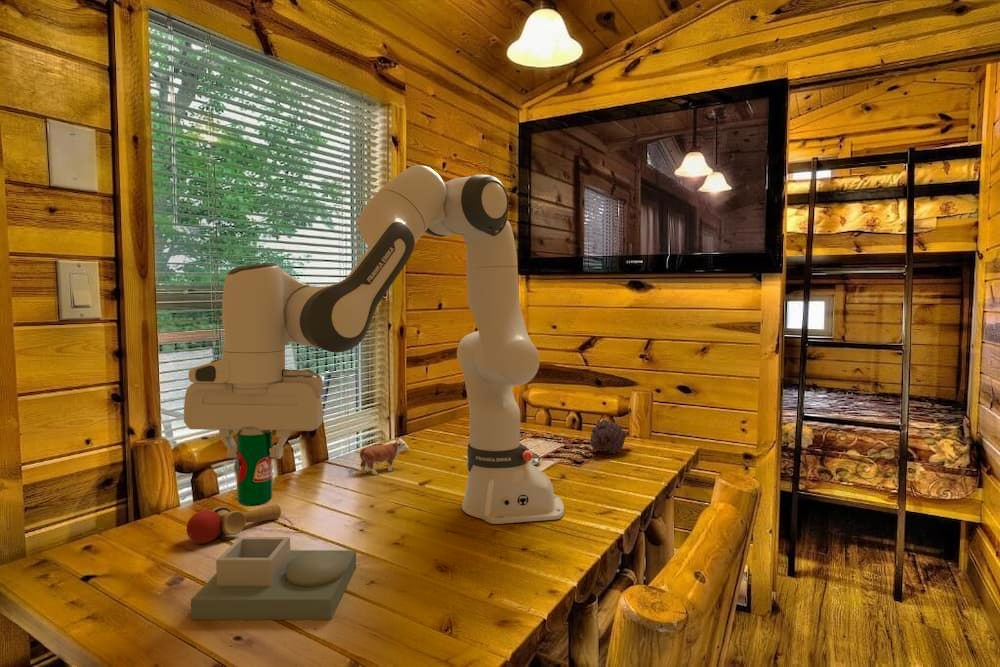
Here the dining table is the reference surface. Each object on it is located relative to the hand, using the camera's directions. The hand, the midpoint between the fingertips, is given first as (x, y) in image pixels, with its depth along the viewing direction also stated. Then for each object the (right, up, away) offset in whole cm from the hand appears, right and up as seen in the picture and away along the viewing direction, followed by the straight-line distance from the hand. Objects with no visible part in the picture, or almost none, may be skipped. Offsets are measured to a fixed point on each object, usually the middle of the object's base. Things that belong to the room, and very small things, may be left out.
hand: (255, 457), depth 90 cm
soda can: (0, -7, 0) cm, 7 cm away
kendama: (-14, -20, +24) cm, 35 cm away
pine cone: (+70, -17, +83) cm, 110 cm away
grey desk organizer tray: (+3, -22, +2) cm, 22 cm away
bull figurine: (+7, -17, +64) cm, 66 cm away
